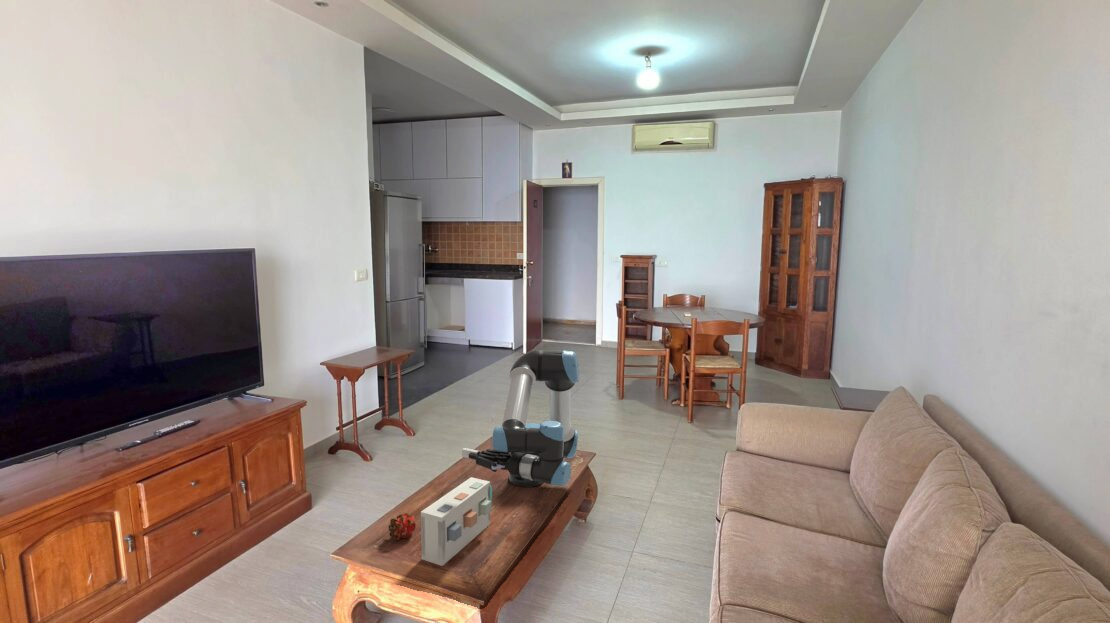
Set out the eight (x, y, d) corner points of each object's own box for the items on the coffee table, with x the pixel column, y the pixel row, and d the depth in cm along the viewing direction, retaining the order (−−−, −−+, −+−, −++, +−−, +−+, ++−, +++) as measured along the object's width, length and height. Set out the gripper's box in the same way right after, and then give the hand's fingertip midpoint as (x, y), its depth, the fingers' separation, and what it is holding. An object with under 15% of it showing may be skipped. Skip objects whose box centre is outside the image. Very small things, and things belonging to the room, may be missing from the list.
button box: (471, 519, 199) (471, 476, 197) (490, 524, 196) (490, 480, 194) (421, 559, 174) (420, 510, 172) (442, 566, 171) (441, 516, 169)
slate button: (448, 531, 177) (448, 521, 177) (461, 535, 175) (461, 525, 175) (441, 537, 174) (441, 526, 173) (454, 541, 172) (454, 530, 171)
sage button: (479, 507, 193) (479, 497, 193) (491, 510, 191) (491, 501, 191) (473, 512, 190) (473, 502, 190) (485, 515, 188) (485, 505, 187)
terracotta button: (464, 519, 185) (464, 509, 185) (477, 522, 183) (477, 512, 183) (458, 524, 182) (458, 513, 181) (471, 527, 180) (471, 517, 179)
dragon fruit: (389, 550, 182) (410, 536, 193) (408, 538, 180) (428, 526, 191) (378, 526, 183) (399, 514, 195) (396, 515, 181) (416, 503, 193)
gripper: (513, 484, 172) (451, 469, 182) (533, 469, 183) (474, 456, 193) (514, 461, 171) (451, 447, 181) (533, 447, 182) (474, 435, 192)
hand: (463, 452), depth 187 cm, fingers closed
